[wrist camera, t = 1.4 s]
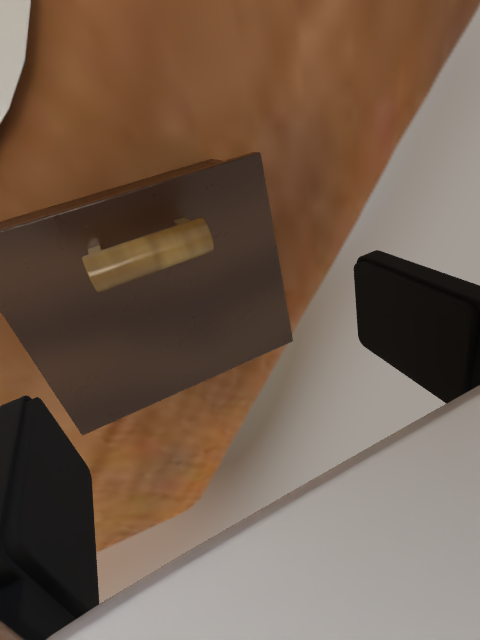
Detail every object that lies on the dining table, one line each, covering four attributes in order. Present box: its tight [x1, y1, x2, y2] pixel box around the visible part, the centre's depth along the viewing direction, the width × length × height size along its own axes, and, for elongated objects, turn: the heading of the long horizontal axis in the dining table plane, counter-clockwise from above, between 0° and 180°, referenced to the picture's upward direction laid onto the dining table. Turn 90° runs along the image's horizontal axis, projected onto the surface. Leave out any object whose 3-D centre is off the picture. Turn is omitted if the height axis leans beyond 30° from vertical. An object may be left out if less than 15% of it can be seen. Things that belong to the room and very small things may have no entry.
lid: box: [0, 152, 293, 435], centre depth 21 cm, size 14×17×5 cm
